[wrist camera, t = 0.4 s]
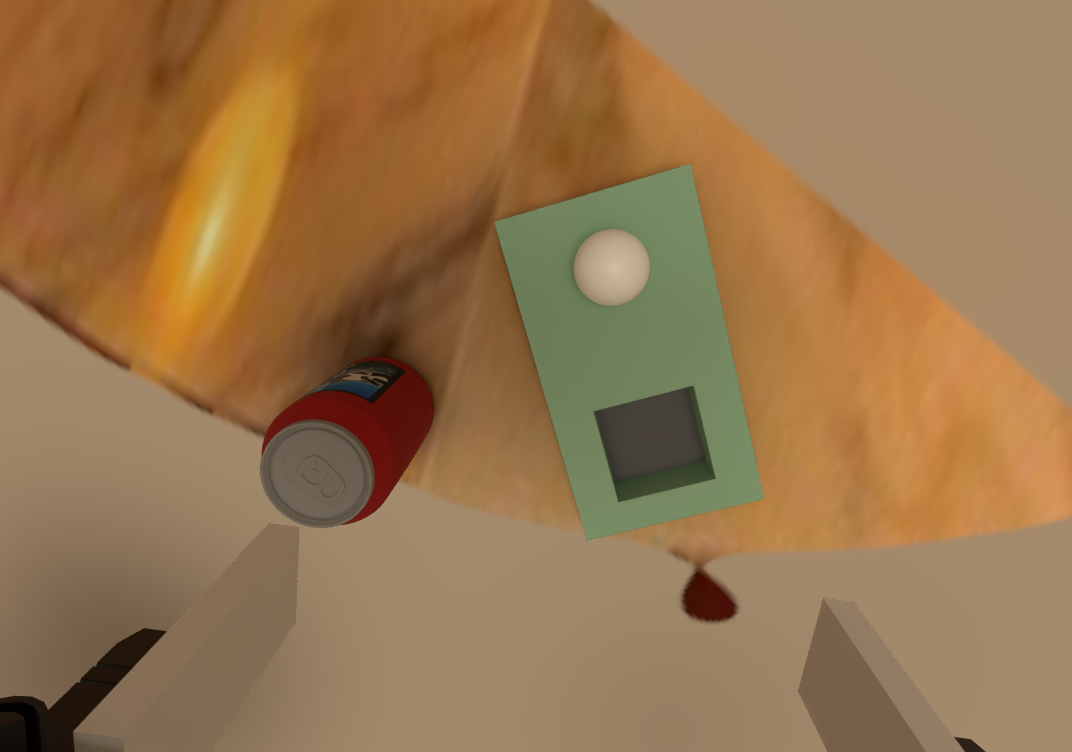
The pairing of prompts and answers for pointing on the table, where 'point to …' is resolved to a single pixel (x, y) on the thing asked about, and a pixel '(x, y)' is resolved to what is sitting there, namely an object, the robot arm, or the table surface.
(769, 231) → the table surface
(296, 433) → the beverage can
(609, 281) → the ball
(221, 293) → the table surface
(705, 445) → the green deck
